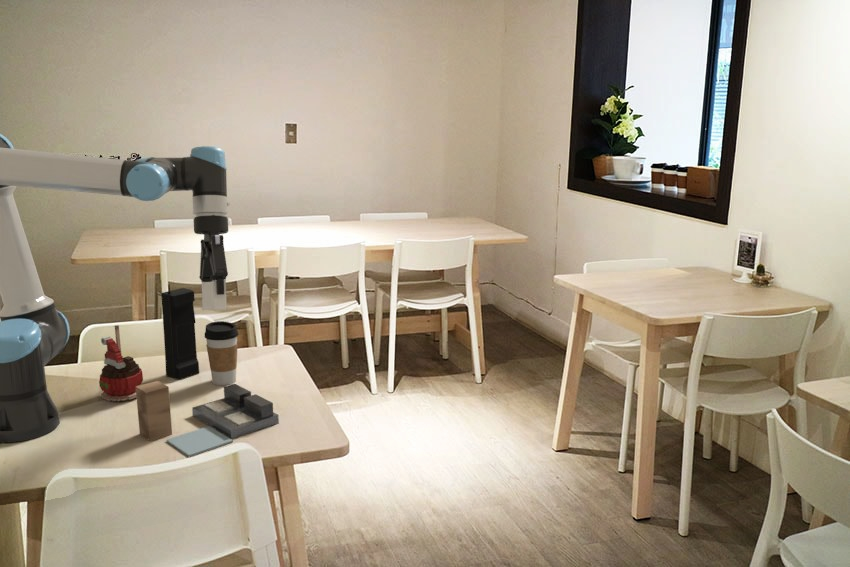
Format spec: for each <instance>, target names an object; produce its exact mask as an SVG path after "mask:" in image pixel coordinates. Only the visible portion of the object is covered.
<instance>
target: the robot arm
mask: <svg viewBox="0 0 850 567" xmlns="http://www.w3.org/2000/svg"><path fill="white" fill-rule="evenodd" d="M226 166H227V165H226V155H225V151H224V150H223V149H222V148H220V147H217V146H210V145H204V146H203V145H202V146H195V147H193V148H191V151H190V154H189V156H183V157H153V156H150V157H146V158H139V159H137V160H128V159H127V160H126V159H117V158H110V157H109V158H108V157H107V158H106V157H100V156H98V157H97V156H88V155H80V154H79V155H78V154H69V153H58V152H49V151H41V150H40V151H39V150H29V149H28V150H27V149H20V148H19V149H18V148H15V146H13V144H12V143H11V141H10V140H9V139H8V138H7V137H6V136H4V135H3V134H2V133H0V297H1V301H2V304H3V306H2V308H1V310H0V442H8V443H17V442H16V441H18V442H24V441H28V440H32V439H35V438H39V437H42V436H45V435H47V434H48V433H50V432H52V431H54V430H55V429H56V428H58V427H59V425H60V421H61V420H60V413H59V410H58V408H57V407H56V404H55V403H54V401H53V399H52V397H51V395H50V393H49V391H48V388H47V387H48V386H47V379H46V378H47V377H46V371H45V369H46V368H45V366H47V365H48V363H49V362H51V361H52V359H54V358H55V357H57V356H58V355H60V353H61V352H62V351H63V349H64V348H65V346H66V344H67V343H68V341H69V338H70V333H71V332H70V329H71V327H70V324H69V321H68V318H67V317H66V316H65V315H64V314H63V312H61V311H58V310H57V308H56V307H57V306H56V304H55V301H54V299H53V298H51V297H49V296H46V294H45V292H44V289H43V286H42V284H41V280H40V276H39V273H38V271H37V267H36V264H35V261H34V258H33V254H32V251H31V248H30V245H29V241H28V237H27V235H26V233H25V230H24V226H23V223H22V220H21V216H20V212H19V210H18V206H17V203H16V201H15V198H14V192H15V191H16V190H17V187H21V188H30V189H31V188H32V189H33V188H34V189H43V190H54V191H55V190H57V191H65V192H66V191H67V192H74V193H75V192H78V193H87V194H99V195H100V194H101V195H109V196H110V195H111V196H122V197H128V198H135V199H137V200H139V201H143V202H150V201H157V200H158V199H160V198H162V197H163V196H164V195H166V194H167V193H169V192H183V191H192V214H193V215H194V218H193V232H194V234H196V235H203V239H200V262H199V266H200V267H199V277H198V278H199V279H200V281H201V297H202V298H201V302H202V311H209V310H210V311H212V310H213V311H227V310H228V306H227V280H226V279H227V277H228V275H229V272H228V267H227V259H226V253H225V247H224V246H225V245H224V234H227V233H228V232H229V218H228V217H227V216H226V215H228V206H230V205H231V204H230V202H229V201H228V192H227V190H228V188H227V187H228V186H227V181H228V180H227V167H226Z"/></svg>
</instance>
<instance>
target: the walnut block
mask: <svg viewBox="0 0 850 567" xmlns="http://www.w3.org/2000/svg"><path fill="white" fill-rule="evenodd" d="M170 401H171V400H170V390H169V386H168V385H166V384H164V383H162V382H161V381H160V380H155V381H151V382H148V383H143V384H141V385H139V386H136V405H137V406H136V407H137V408H136V409H137V417H138V428H139V429H138V430H139V435H141V436H142V437H143V438H145V439H146V440H148V441H149V442H152V441H156V440H159V439H161V438H165V437H168V436H171V435H173V429H172V417H171V416H172V415H171V403H170Z"/></svg>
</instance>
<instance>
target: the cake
mask: <svg viewBox="0 0 850 567" xmlns="http://www.w3.org/2000/svg"><path fill="white" fill-rule="evenodd" d="M114 333H115V340H114V339H113V338H111V336H110V335H106V336H103V337H101V338H100V342H101V344H102V345H103V346H106V349H107V350H106V351H105V353H104V360H103V363H104V365H103V367H102V368H101V373H100V374H99V381H98V383H99V388H100V389H101V391H102V393H101V397H102V400H103V399H104V400H107V401H112V402H116V401H117V402H120V401H123V402H124V401H127V400H130V401H131V400H133V399H135V398H136V399H137V397H136V386H139V385H143V384H142V383H143V382H144V376H143V370H142V368H140V365H139V364H138V363H136V360H134V357H132V356H125V357H123V355H122V347H121V346H122V344H121V337H120V336H121V335H120V325H118V324H116V325H114Z"/></svg>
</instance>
